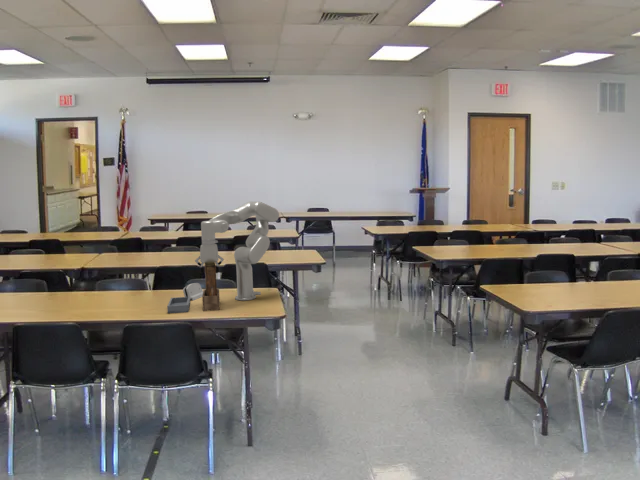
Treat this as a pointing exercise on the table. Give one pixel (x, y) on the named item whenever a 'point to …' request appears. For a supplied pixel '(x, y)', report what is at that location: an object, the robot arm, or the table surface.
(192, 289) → the white gray electronic device
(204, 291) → the frame
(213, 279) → the book
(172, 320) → the table surface
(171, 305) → the tray
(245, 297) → the robot arm
